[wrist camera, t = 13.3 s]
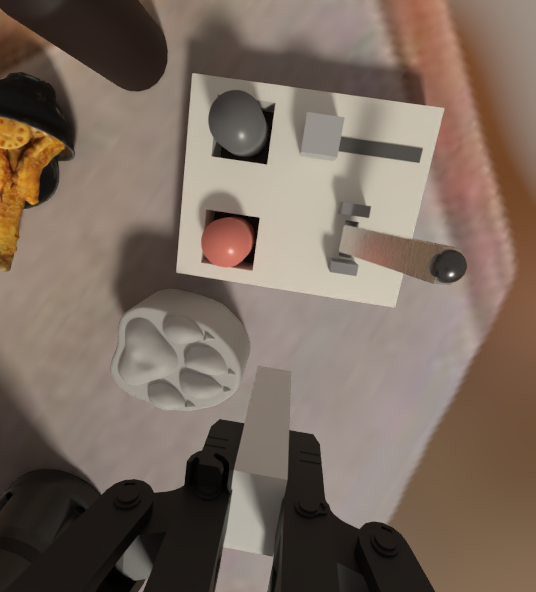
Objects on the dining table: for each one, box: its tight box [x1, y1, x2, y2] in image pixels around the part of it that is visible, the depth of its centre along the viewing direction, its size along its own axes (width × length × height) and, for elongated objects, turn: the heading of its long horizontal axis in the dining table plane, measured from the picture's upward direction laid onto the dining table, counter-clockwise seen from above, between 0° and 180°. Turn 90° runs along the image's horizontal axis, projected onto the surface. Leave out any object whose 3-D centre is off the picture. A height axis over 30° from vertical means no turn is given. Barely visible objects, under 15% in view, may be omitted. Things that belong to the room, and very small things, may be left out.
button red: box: [201, 216, 256, 267], centre depth 36 cm, size 4×4×6 cm
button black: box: [208, 90, 268, 158], centre depth 32 cm, size 4×4×6 cm
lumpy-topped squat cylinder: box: [110, 289, 250, 411], centre depth 38 cm, size 10×13×9 cm
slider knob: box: [301, 112, 345, 161], centre depth 31 cm, size 3×3×3 cm
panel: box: [176, 73, 444, 308], centre depth 35 cm, size 22×18×6 cm
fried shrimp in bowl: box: [0, 72, 75, 271], centre depth 35 cm, size 9×11×18 cm
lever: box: [339, 220, 467, 285], centre depth 28 cm, size 2×3×13 cm
